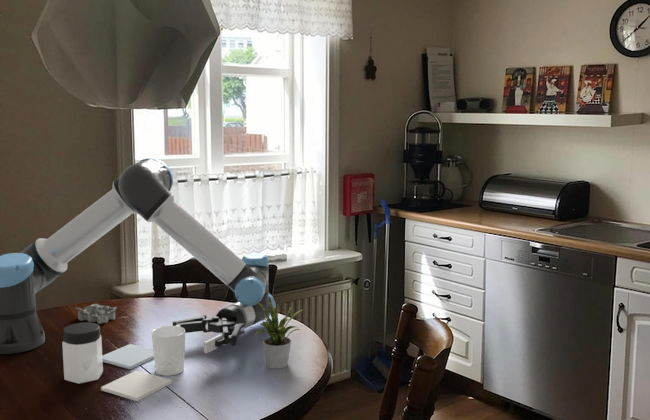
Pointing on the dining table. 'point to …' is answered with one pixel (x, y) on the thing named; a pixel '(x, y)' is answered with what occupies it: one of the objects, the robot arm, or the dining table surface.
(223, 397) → the dining table surface
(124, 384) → the tile shorter
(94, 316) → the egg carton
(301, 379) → the dining table surface
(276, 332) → the house plant
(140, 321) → the dining table surface
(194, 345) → the dining table surface
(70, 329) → the jar
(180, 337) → the white cup
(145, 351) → the light grey square tile
